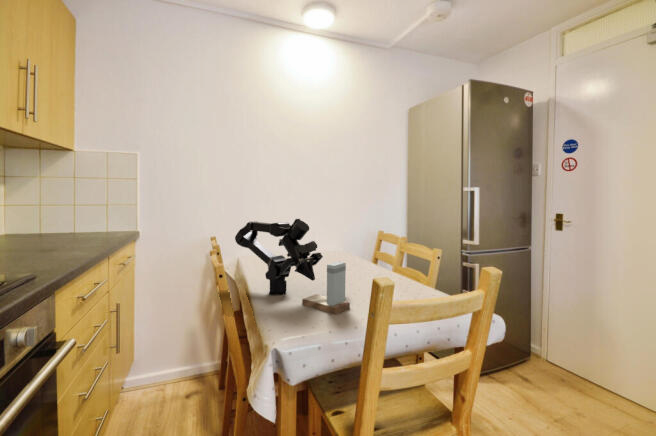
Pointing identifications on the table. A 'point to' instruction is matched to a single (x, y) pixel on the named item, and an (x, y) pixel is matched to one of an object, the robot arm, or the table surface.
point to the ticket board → (325, 304)
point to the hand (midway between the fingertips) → (313, 279)
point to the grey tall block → (336, 283)
